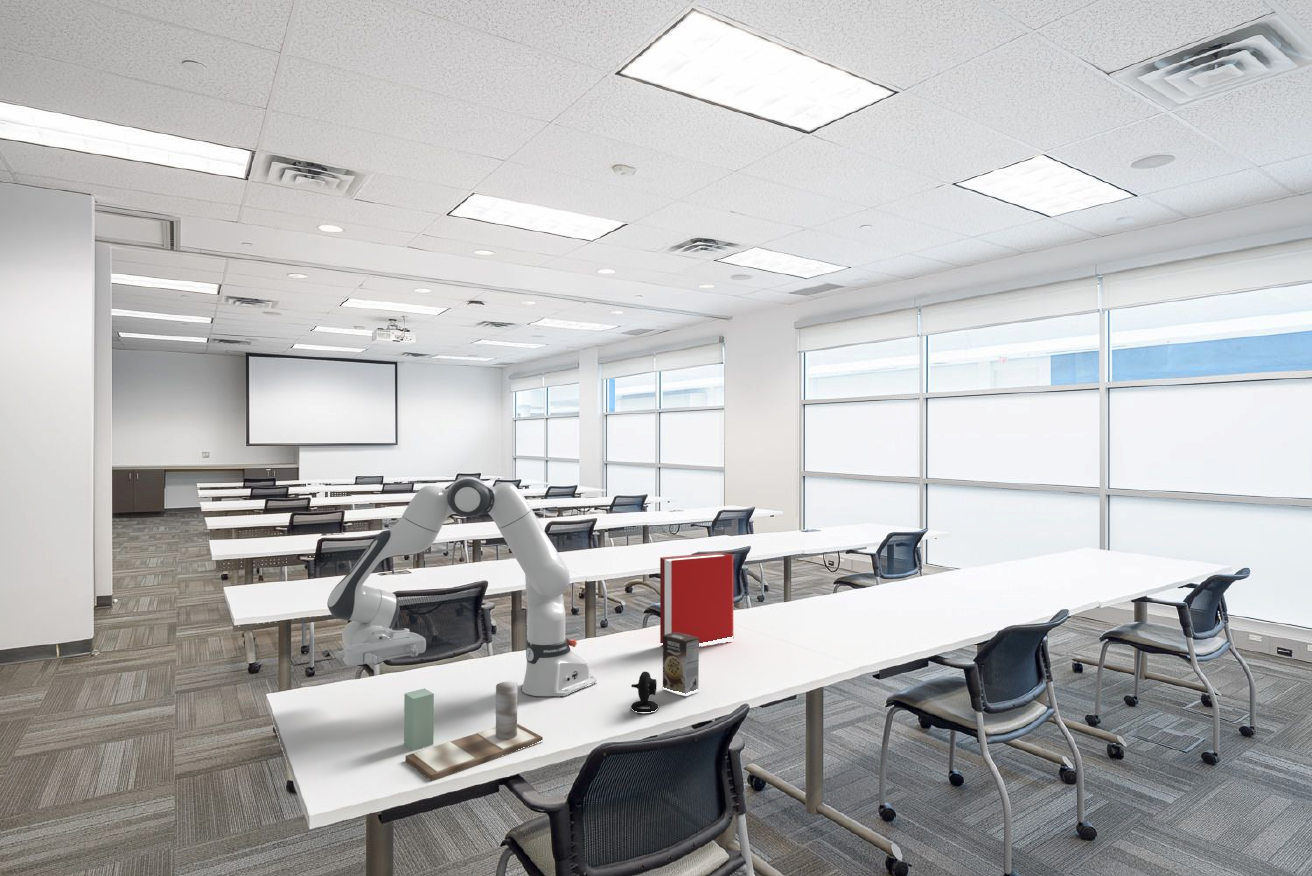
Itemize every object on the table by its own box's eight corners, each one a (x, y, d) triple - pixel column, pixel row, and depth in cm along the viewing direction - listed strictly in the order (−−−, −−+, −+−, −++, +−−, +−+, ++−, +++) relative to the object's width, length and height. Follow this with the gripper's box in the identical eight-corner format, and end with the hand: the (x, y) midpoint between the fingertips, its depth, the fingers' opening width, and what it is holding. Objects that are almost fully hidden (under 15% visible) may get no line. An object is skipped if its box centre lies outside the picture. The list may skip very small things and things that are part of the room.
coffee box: (661, 690, 197) (661, 635, 198) (676, 685, 202) (676, 630, 202) (685, 698, 191) (685, 640, 192) (699, 692, 196) (699, 636, 196)
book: (671, 652, 236) (671, 560, 237) (660, 646, 243) (660, 557, 244) (735, 641, 249) (734, 554, 250) (722, 636, 256) (722, 552, 257)
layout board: (513, 726, 171) (513, 673, 171) (542, 742, 162) (542, 685, 162) (405, 761, 152) (406, 701, 152) (431, 781, 142) (431, 717, 143)
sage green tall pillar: (424, 738, 164) (424, 688, 164) (433, 744, 161) (433, 693, 161) (403, 744, 161) (404, 693, 161) (412, 750, 157) (413, 699, 157)
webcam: (655, 715, 178) (655, 677, 178) (628, 714, 180) (628, 676, 180) (660, 705, 186) (660, 668, 186) (634, 703, 187) (634, 667, 187)
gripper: (335, 640, 173) (355, 651, 163) (412, 627, 187) (435, 637, 177) (334, 664, 173) (354, 678, 163) (412, 650, 187) (434, 661, 177)
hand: (397, 656), depth 170 cm, fingers open, 8 cm apart
